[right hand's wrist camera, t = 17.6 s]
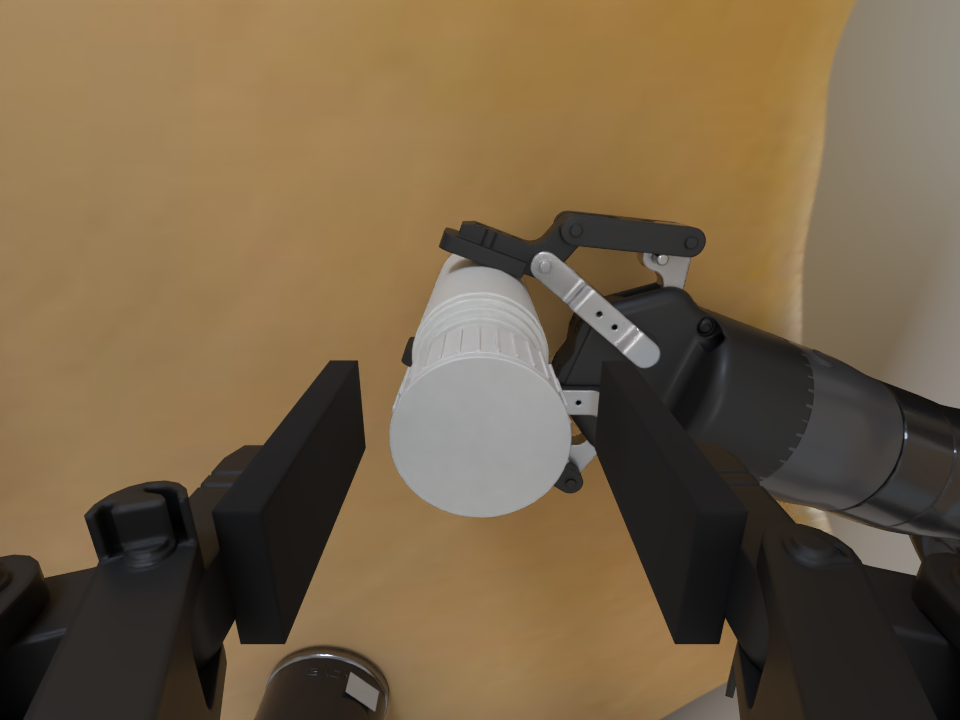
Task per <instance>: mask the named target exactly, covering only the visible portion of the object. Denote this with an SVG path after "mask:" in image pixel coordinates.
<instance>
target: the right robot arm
mask: <svg viewBox="0 0 960 720" xmlns="http://www.w3.org/2000/svg"><path fill="white" fill-rule="evenodd" d="M365 448H366V446H365V435H364V424H363V413H362V401H361V390H360V379H359V368H358V361H329V363H328V364H327V365H326V366H325V368H324V369H323V370H322V372H321V373H320V374H319V375H318V377H317V378H316V379H315V380H314V382H313V383H312V384H311V385H310V387H309V388H308V389H307V391H306V392H305V393H304V394H303V396H302V397H301V398H300V399H299V401H298V402H297V403H296V405H295V406H294V407H293V408H292V410H291V411H290V412H289V413H288V415H287V416H286V417H285V419H284V420H283V421H282V422H281V424H280V425H279V426H278V427H277V429H276V430H275V431H274V433H273V434H272V435H271V436H270V438H269V439H268V440H267V441H266V443H265V444H264V445H245V446H243V447H241V448H240V449H238V450H237V451H235V452H233V453H232V454H230V455H228V456H227V457H225V458H224V459H223V460H222V461H221V462H220V463H219V465H218V466H217V467H216V468H215V469H214V470H213V471H212V472H211V473H212V474H211V475H209V476H208V477H207V478H206V479H205V480H204V481H203V483H202V484H201V487H200V488H197V489H196V490H195V492H194V493H193V494H192V495H191V496H190V497H189V498H188V494H187V489H186V488H185V487H183V486H182V485H181V484H179V483H176V482H170V481H154V482H146V483H142V484H138V485H134V486H130V487H127V488H125V489H122V490H120V491H117V492H115V493H113V494H110V495H109V496H107V497H105V498H104V499H102V500H101V501H99V502H98V503H96V504H94V505H93V506H92V508H91V509H90V510H89V511H88V512H87V513H86V514H85V515H84V517H85V520H86V523H87V526H88V529H89V532H90V535H91V538H92V541H93V544H94V547H95V550H96V553H97V556H98V559H99V563H98V565H97V567H94V568H90V569H85V570H80V571H76V572H71V573H66V574H61V575H57V576H52V577H47V578H44V576H43V573H42V570H41V568H40V565H39V562H38V561H37V560H35V559H34V558H32V557H31V556H25V555H9V556H4V557H0V720H220V714H221V706H222V698H223V690H224V682H225V673H226V665H227V661H226V654H225V649H224V645H223V641H224V639H225V637H226V635H227V633H228V632H229V630H230V628H231V626H232V624H233V622H234V621H235V620H236V625H237V629H238V634H239V638H240V643H241V644H285V643H286V640H287V638H288V636H289V633H290V631H291V628H292V626H293V623H294V621H295V619H296V616H297V614H298V611H299V609H300V606H301V604H302V602H303V599H304V597H305V594H306V592H307V589H308V587H309V585H310V582H311V580H312V577H313V575H314V572H315V570H316V568H317V565H318V563H319V560H320V558H321V555H322V553H323V550H324V548H325V546H326V543H327V541H328V538H329V536H330V533H331V531H332V529H333V526H334V524H335V521H336V519H337V516H338V514H339V512H340V509H341V507H342V504H343V502H344V499H345V497H346V495H347V492H348V490H349V487H350V485H351V482H352V480H353V478H354V475H355V473H356V470H357V468H358V465H359V463H360V461H361V458H362V456H363V453H364V451H365ZM594 448H595V451H596V453H597V456H598V458H599V461H600V463H601V465H602V468H603V470H604V473H605V475H606V478H607V480H608V482H609V485H610V487H611V490H612V492H613V495H614V497H615V499H616V502H617V504H618V507H619V509H620V512H621V514H622V516H623V519H624V521H625V524H626V526H627V529H628V531H629V533H630V536H631V538H632V541H633V543H634V546H635V548H636V550H637V553H638V555H639V558H640V560H641V563H642V565H643V568H644V570H645V572H646V575H647V577H648V580H649V582H650V585H651V587H652V589H653V592H654V594H655V597H656V599H657V602H658V604H659V606H660V609H661V611H662V614H663V616H664V619H665V621H666V623H667V626H668V628H669V631H670V633H671V636H672V638H673V640H674V643H675V644H719V643H720V638H721V634H722V629H723V625H724V620H725V618H726V620H727V622H728V623H729V625H730V627H731V629H732V631H733V633H734V634H735V636H736V638H737V640H738V641H737V645H736V649H735V653H734V658H733V662H732V666H731V670H730V674H729V679H728V683H727V689H726V696H728V697H731V698H733V695H734V691H735V687H736V688H737V696H738V704H739V713H740V720H960V555H959V554H954V553H948V552H945V553H931V554H930V555H928V556H927V557H925V558H924V559H923V560H922V562H921V565H920V568H919V570H918V573H917V576H915V575H910V574H905V573H900V572H896V571H891V570H886V569H881V568H877V567H872V566H868V565H864V564H862V562H861V560H860V559H859V557H858V556H857V555H856V554H855V552H854V551H853V550H852V549H851V548H850V547H849V546H847V545H846V544H845V543H843V542H842V541H841V540H839V539H838V538H836V537H834V536H832V535H830V534H828V533H826V532H824V531H822V530H820V529H816V528H813V527H809V526H806V525H802V524H796V523H795V522H794V521H793V519H792V518H791V517H790V516H789V515H788V514H787V513H786V512H785V510H784V509H783V508H782V507H781V506H780V505H779V504H778V503H777V502H776V500H775V499H774V498H773V497H772V496H771V495H770V494H769V493H768V491H767V490H766V489H765V488H764V487H763V486H760V483H759V481H758V480H757V479H756V478H755V477H754V476H753V475H752V474H749V470H748V469H747V468H746V467H745V466H744V465H743V464H742V462H741V461H740V460H739V459H738V458H737V457H736V456H735V455H733V454H731V453H730V452H728V451H727V450H725V449H723V448H722V447H720V446H718V445H717V444H695V443H694V441H693V440H692V439H691V438H690V436H689V435H688V434H687V433H686V431H685V430H684V429H683V427H682V426H681V425H680V424H679V422H678V421H677V420H676V419H675V417H674V416H673V415H672V413H671V412H670V411H669V410H668V408H667V407H666V406H665V405H664V403H663V402H662V401H661V399H660V398H659V397H658V396H657V394H656V393H655V392H654V391H653V389H652V388H651V387H650V385H649V384H648V383H647V382H646V380H645V379H644V378H643V377H642V375H641V374H640V373H639V372H638V370H637V369H636V368H635V366H634V365H633V364H632V363H631V361H602V368H601V379H600V390H599V401H598V413H597V424H596V435H595V446H594Z"/></svg>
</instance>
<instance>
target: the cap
mask: <svg viewBox="0 0 960 720" xmlns="http://www.w3.org/2000/svg"><path fill="white" fill-rule="evenodd" d="M566 408H568V405H567V402H566V399H565V397H564V394H563V391H562V389H561V386H560V383H559V381H558V378H556V375H555V373H554V370H553V367H552V365H551V364H548V363H547V361H546V360H545V358H544V356H543V354H542V352H541V351H540V352H538V351H537V349H535V348H534V347H533V346H532V345H530V342H529V341H528V340H527V341H525V340H523V339H521V338H520V337H517V336H515V334H514V333H508V332H504V331H501V330H498V328H495V329H490V328H480V327H477V328H472V329H465V330H463V329H459V331H456V332H453V333H451V334H448V335H446V334H444V335H443V337H442V338H440V339H438V340H436V341H435V342H433V343H432V344H431V343H429V344H428V346H427V348H426V349H425V350H423V351H422V352H421V353H420V355H419V354H417V355H416V357H415V360H414V362H413V364H412V366H411V367H408V368H407V371H406V374H405V376H404V379H403V382H402V383H401V386H400V389H399V392H398V394H397V397H396V400H395V402H394V405H393V408H392V412H393V415H392V419H391V423H390V430H389V444H390V450H391V455H392V458H393V461H394V464H395V466H396V468H397V470H398V472H399V474H400V476H401V477H402V479H403V480H404V482H405V483H406V484H407V485H408V486H409V487H410V489H411V490H412V491H413V492H414V493H416V494H417V495H418V496H419V497H420V498H422V499H423V500H424V501H426V502H427V503H429V504H431V505H433V506H435V507H436V508H438V509H441V510H443V511H446V512H449V513H452V514H456V515H460V516H466V517H479V518H484V517H495V516H501V515H505V514H509V513H512V512H515V511H518V510H520V509H522V508H525V507H527V506H528V505H530V504H532V503H534V502H535V501H537V500H538V499H539V498H541V497H542V496H543V495H544V494H545V493H546V492H547V491H549V490H550V489H551V488H552V486H553V485H554V484H555V483H556V481H557V480H558V479H559V477H560V475H561V474H562V472H563V470H564V468H565V466H566V463H567V461H568V458H569V454H570V450H571V442H572V430H571V420H570V417H569V415H568V412H567V409H566Z"/></svg>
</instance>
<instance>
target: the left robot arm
mask: <svg viewBox="0 0 960 720" xmlns="http://www.w3.org/2000/svg"><path fill="white" fill-rule="evenodd" d="M705 243H706V238H705V235H704V233H703V232H702V231H701V230H700V229H698V228H694V227H691V226H687V225H683V224H679V223H676V222H668V221H659V220H649V219H640V218H631V217H622V216H612V215H603V214H594V213H584V212H575V211H563V212H561V213H559V214H558V215H557V216H556V218H555V220H554V223H553V225H552V226H551V227H550V228H549V229H548V230H547V232H546V233H545V234H544V235H543V236H542V237H540V238H539V239H537V240H533V241H527V240H524V239H521V238H518V237H516V236H513V235H510V234H508V233H505V232H503V231H500V230H497V229H495V228H492V227H489V226H487V225H484V224H481V223H479V222H476V221H463V222H462V225H461V228H460V231H457V230H454V229H451V228H446V229H445V230H444V233H443V236H442V239H441V242H440V245H439V247H440V248H441V249H443V250H445V251H448V252H450V253H453V254H456V255H458V256H461V257H464V258H466V259H469V260H472V261H475V262H477V263H480V264H483V265H485V266H488V267H491V268H494V269H497V270H500V271H503V272H505V273H507V274H510V275H512V276H515V277H518V278H522V276H523V273H524V274H526V275H529V276H532V277H534V278H537V279H538V280H539V281H540V282H541V283H543V284H544V285H545V286H546V287H547V288H548V289H550V290H551V291H552V292H553V293H554V294H555V295H557V296H558V297H559V298H560V299H561V300H562V301H564V302H565V303H566V304H567V305H568V306H569V307H570V308H571V309H572V310H573V311H574V314H573V316H572V318H571V321H570V323H569V328H568V334H567V339H566V341H565V342H564V344H563V345H562V346H561V347H560V349H559V350H558V351H557V352H556V354H555V356H554V359H553V361H552V363H548V364H551V365H552V367H553V370H554V373H555V375H556V378H558V381H559V383H560V386H561V389H562V391H563V394H564V397H565V399H566V402H567V405H568V408H566V409H567V412H568V415H570V416H571V417H572V419H573V420H574V422H575V423H576V425H577V426H578V428H579V429H580V431H581V432H582V433H581V434H579V435H577V436H572V442H571V450H570V454H569V458H568V461H567V463H566V466H565V468H564V470H563V472H562V474H561V475H560V477H559V479H558V480H557V481H556V483H555V484H554V485H553V486H555V487H557V488H558V489H560V490H562V491H563V492H566V493H575V492H577V491H578V490H580V489H581V487H582V485H583V479H582V476H581V471H582V470H583V469H584V468H585V467H586V466H587V465H588V464H589V462H590V461H591V460H592V459H593V458H594V457H595V456H596V454H597V453H596V451H595V448H594V446H595V435H596V424H597V413H598V401H599V390H600V379H601V368H602V361H631V363H632V364H633V365H634V366H635V368H636V369H637V370H638V372H639V373H640V374H641V375H642V377H643V378H644V379H645V380H646V382H647V383H648V384H649V385H650V387H651V388H652V389H653V391H654V392H655V393H656V394H657V396H658V397H659V398H660V399H661V401H662V402H663V403H664V405H665V406H666V407H667V408H668V410H669V411H670V412H671V413H672V415H673V416H674V417H675V419H676V420H677V421H678V422H679V424H680V425H681V426H682V427H683V429H684V430H685V431H686V433H687V434H688V435H689V436H690V438H691V439H692V440H693V441H694V443H695V444H717V445H718V446H720V447H722V448H723V449H725V450H727V451H728V452H730V453H731V454H733V455H735V456H736V457H737V458H738V459H739V460H740V461H741V462H742V464H743V465H744V466H745V467H746V468H747V469H748V470H749V474H752V475H753V476H754V477H755V478H756V479H757V480H758V481H759V483H760V486H763V487H764V488H765V489H766V490H767V491H768V493H769V494H770V495H771V496H772V497H773V498H774V499H775V500H778V501H782V502H786V503H791V504H797V505H803V506H809V507H813V508H816V509H819V510H822V511H825V512H828V513H831V514H834V515H837V516H840V517H843V518H846V519H849V520H852V521H855V522H858V523H861V524H865V525H868V526H871V527H875V528H878V529H882V530H886V531H890V532H896V533H901V534H908V535H909V537H910V539H911V541H912V544H913V546H914V548H915V550H916V552H917V554H918V556H919V558H920V560H921V562H922V560H923V559H924V558H925V557H927V556H928V555H930V554H931V553H945V552H948V553H954V554H959V555H960V409H958V408H953V407H948V406H944V405H940V404H938V403H936V402H933V401H931V400H929V399H926V398H924V397H921V396H919V395H917V394H914V393H911V392H909V391H906V390H903V389H901V388H898V387H895V386H893V385H890V384H887V383H885V382H882V381H879V380H877V379H874V378H872V377H869V376H867V375H865V374H863V373H861V372H860V371H858V370H856V369H855V368H853V367H851V366H849V365H848V364H846V363H844V362H842V361H840V360H838V359H835V358H833V357H831V356H828V355H826V354H823V353H822V352H820V351H817V350H814V349H810V348H807V347H805V346H802V345H799V344H797V343H794V342H791V341H789V340H786V339H784V338H781V337H779V336H776V335H773V334H771V333H768V332H765V331H763V330H760V329H757V328H755V327H752V326H749V325H747V324H744V323H742V322H739V321H736V320H734V319H731V318H728V317H726V316H723V315H720V314H718V313H715V312H712V311H710V310H707V309H705V308H702V307H700V306H698V305H697V304H696V303H695V302H694V301H693V299H692V298H691V296H690V295H689V294H688V293H687V292H686V291H684V290H683V289H684V285H685V281H686V277H687V273H688V269H689V265H690V260H691V257H694V256H696V255H698V254H699V253H700V252H701V251H702V250H703V248H704V246H705ZM578 246H583V247H593V248H602V249H612V250H621V251H631V252H637V258H638V261H639V263H640V264H641V265H643V266H644V267H646V268H648V269H650V270H652V271H654V272H655V273H656V276H657V282H656V283H652V284H648V285H645V286H641V287H637V288H634V289H630V290H626V291H622V292H619V293H615V294H611V295H608V296H603V295H602V294H601V293H600V292H599V291H598V290H597V289H595V288H594V287H593V286H592V285H591V284H590V283H589V282H587V281H586V280H585V279H584V278H583V277H582V276H581V275H579V274H578V273H577V272H576V271H575V270H573V269H572V268H571V267H570V266H569V265H568V264H566V263H565V261H566V260H567V259H568V257H569V256H570V255H571V254H572V253H573V252H574V251H575V250H576V249H577V247H578ZM414 339H415V337H410V338H409V341H408V343H407V345H406V348H405V351H404V354H403V357H402V362H403V363H404V364H405V365H407V366H409V367H411V366H412V348H413V342H414ZM388 699H389V691H388V686H387V683H386V681H385V679H384V677H383V676H382V674H381V673H380V672H379V670H378V669H377V668H376V667H375V666H373V665H372V664H371V663H370V662H368V661H367V660H365V659H363V658H362V657H360V656H358V655H355V654H353V653H350V652H347V651H343V650H339V649H332V648H313V649H307V650H303V651H299V652H296V653H294V654H292V655H290V656H288V657H286V658H285V659H283V660H282V661H281V662H280V663H279V664H278V665H277V666H276V667H275V669H274V670H273V672H272V674H271V676H270V679H269V681H268V683H267V686H266V690H265V694H264V697H263V699H262V701H261V704H260V706H259V709H258V711H257V714H256V716H255V718H254V720H383V719H384V716H385V713H386V710H387V704H388Z"/></svg>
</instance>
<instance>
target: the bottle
mask: <svg viewBox="0 0 960 720" xmlns="http://www.w3.org/2000/svg"><path fill="white" fill-rule="evenodd" d="M477 327H480V328H490V329H495V328H498V330H501V331H504V332H508V333H514V334H515V336H517V337H520V338H521V339H523V340H525V341H527V340H528V341H529V342H530V345H532V346H533V347H534V348H535V349H537V351H538V352H540V351H541V352H542V354H543V356H544V358H545V360H546V361H547V363H548V361H549V350H548V344H547V340H546V336H545V333H544V331H543V328H542V326H541V323H540V321H539V318H538V316H537V313H536V310H535V308H534V305H533V303H532V300H531V298H530V295H529V293H528V290H527V288H526V285H525V283H524V280H523V278H518V277H515V276H512V275H510V274H507V273H505V272H503V271H500V270H497V269H494V268H491V267H488V266H485V265H483V264H480V263H477V262H475V261H472V260H469V259H466V258H464V257H461V256H458V255H456V254H452V255H451V256H450V257H449V258H448V259H447V260H446V262H445V263H444V265H443V267H442V269H441V271H440V274H439V277H438V279H437V282H436V284H435V287H434V289H433V292H432V294H431V297H430V299H429V302H428V305H427V307H426V310H425V312H424V315H423V317H422V320H421V322H420V325H419V328H418V330H417V333H416V336H415V339H414V342H413V348H412V364H413V362H414V360H415V357H416V355H417V354H419V355H420V353H421V352H422V351H423V350H425V349H426V348H427V346H428V344H429V343H431V344H432V343H433V342H435V341H436V340H438V339H440V338H442V337H443V335H444V334H446V335H448V334H451V333H453V332H456V331H459V329H463V330H465V329H472V328H477Z"/></svg>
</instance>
